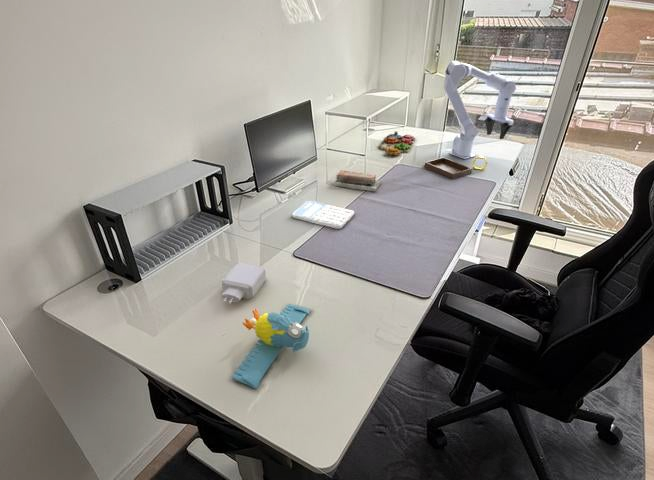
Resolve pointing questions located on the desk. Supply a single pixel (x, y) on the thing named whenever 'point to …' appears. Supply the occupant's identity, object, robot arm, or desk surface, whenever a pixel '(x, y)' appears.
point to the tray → (448, 167)
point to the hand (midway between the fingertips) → (495, 136)
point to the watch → (480, 158)
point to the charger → (242, 282)
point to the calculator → (323, 214)
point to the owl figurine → (272, 341)
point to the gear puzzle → (397, 143)
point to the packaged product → (357, 180)
